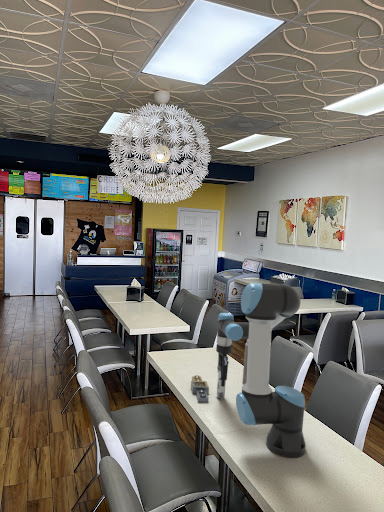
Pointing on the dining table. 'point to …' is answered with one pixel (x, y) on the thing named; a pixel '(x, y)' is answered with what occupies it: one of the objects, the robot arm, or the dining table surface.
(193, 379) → the chain ends
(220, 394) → the pin
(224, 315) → the robot arm
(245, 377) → the thermos bottle
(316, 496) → the dining table surface
